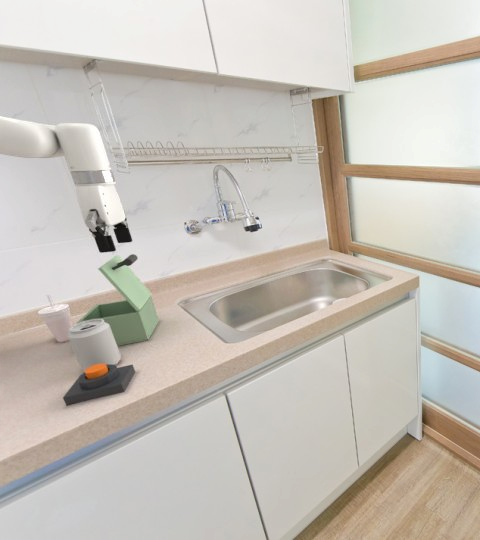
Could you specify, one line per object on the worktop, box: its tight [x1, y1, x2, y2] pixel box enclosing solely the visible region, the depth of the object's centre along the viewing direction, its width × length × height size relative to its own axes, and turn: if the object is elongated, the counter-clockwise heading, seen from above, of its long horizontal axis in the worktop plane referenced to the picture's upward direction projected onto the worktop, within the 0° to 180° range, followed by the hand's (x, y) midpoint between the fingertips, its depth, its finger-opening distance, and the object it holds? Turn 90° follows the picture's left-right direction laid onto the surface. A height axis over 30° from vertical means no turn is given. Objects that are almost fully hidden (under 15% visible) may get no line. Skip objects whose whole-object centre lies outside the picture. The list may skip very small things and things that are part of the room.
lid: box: [97, 253, 153, 312], centre depth 94 cm, size 14×13×6 cm
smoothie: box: [37, 294, 73, 343], centre depth 94 cm, size 6×6×14 cm
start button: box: [84, 363, 108, 379], centre depth 73 cm, size 4×4×2 cm
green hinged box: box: [75, 295, 160, 347], centre depth 96 cm, size 14×13×9 cm
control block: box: [62, 364, 136, 407], centre depth 74 cm, size 10×8×4 cm
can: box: [68, 319, 122, 373], centre depth 81 cm, size 8×8×12 cm
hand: (117, 246), depth 85 cm, fingers open, 9 cm apart
